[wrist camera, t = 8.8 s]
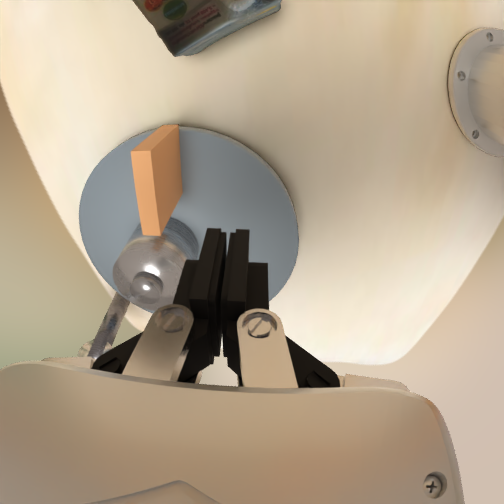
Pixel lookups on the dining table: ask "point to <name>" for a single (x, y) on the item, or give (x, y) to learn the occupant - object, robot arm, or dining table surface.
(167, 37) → the beverage carton
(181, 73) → the dining table surface
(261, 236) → the turntable
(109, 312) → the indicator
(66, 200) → the dining table surface
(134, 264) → the cover
